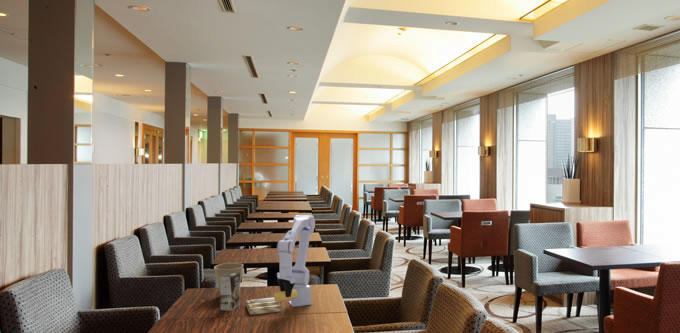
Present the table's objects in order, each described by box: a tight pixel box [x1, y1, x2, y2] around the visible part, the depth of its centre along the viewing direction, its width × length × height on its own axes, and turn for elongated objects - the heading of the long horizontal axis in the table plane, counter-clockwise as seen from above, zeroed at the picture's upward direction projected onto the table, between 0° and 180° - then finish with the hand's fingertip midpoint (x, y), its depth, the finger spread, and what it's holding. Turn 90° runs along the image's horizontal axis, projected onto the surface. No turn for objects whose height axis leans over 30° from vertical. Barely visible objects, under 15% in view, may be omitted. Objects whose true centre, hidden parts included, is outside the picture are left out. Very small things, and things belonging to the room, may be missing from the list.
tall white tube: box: [253, 296, 275, 304], centre depth 219 cm, size 10×4×4 cm, turn 109°
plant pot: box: [213, 262, 244, 294], centre depth 236 cm, size 15×15×16 cm
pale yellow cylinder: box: [273, 289, 298, 303], centre depth 208 cm, size 10×4×4 cm, turn 124°
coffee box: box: [220, 272, 241, 312], centre depth 217 cm, size 9×6×16 cm
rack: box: [245, 299, 282, 315], centre depth 216 cm, size 14×14×3 cm
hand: (286, 295), depth 208 cm, fingers closed on pale yellow cylinder, 4 cm apart
